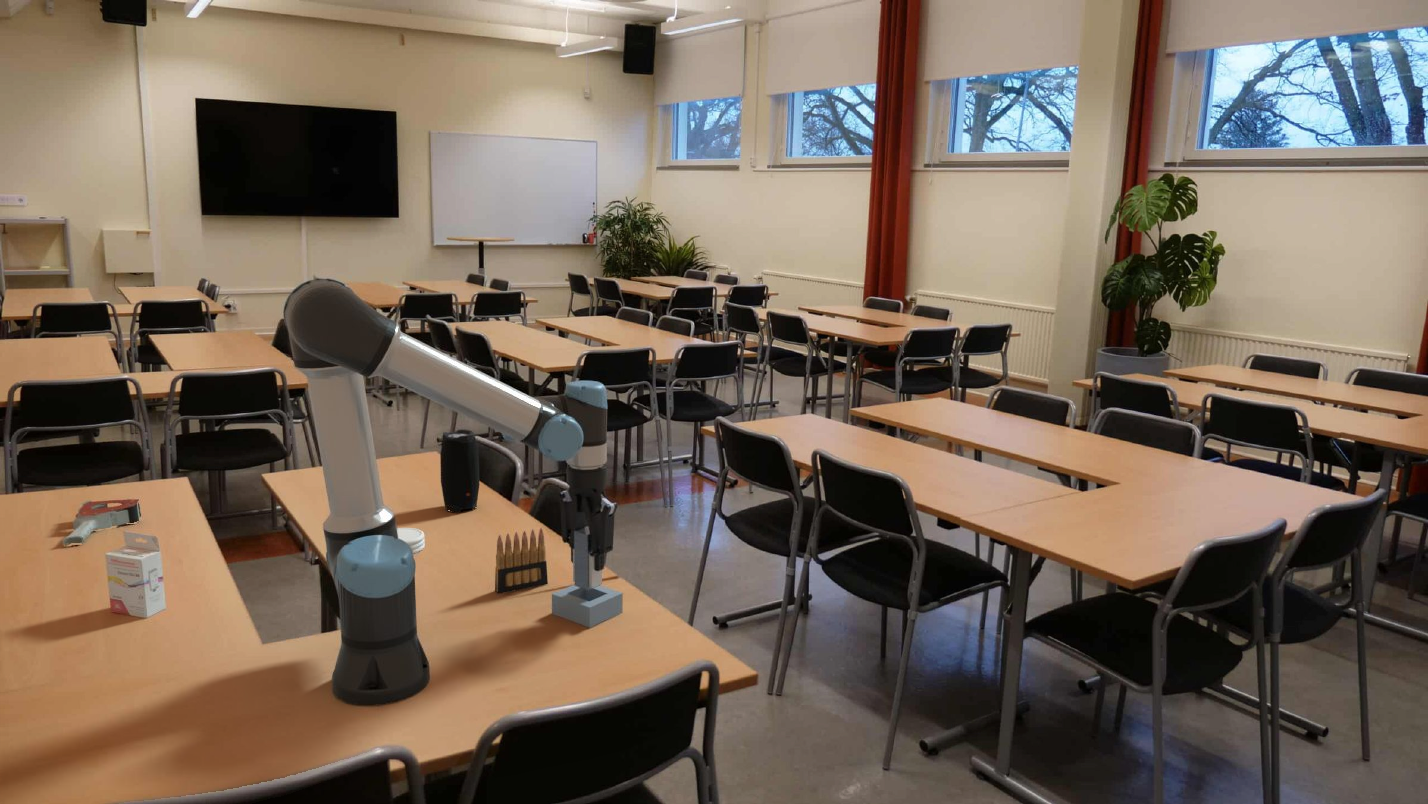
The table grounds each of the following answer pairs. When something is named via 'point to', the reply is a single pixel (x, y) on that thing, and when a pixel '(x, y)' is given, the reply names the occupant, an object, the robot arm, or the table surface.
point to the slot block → (587, 604)
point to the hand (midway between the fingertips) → (587, 582)
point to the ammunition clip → (520, 563)
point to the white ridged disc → (412, 538)
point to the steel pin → (582, 557)
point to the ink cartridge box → (136, 577)
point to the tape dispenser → (102, 518)
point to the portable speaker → (459, 470)
